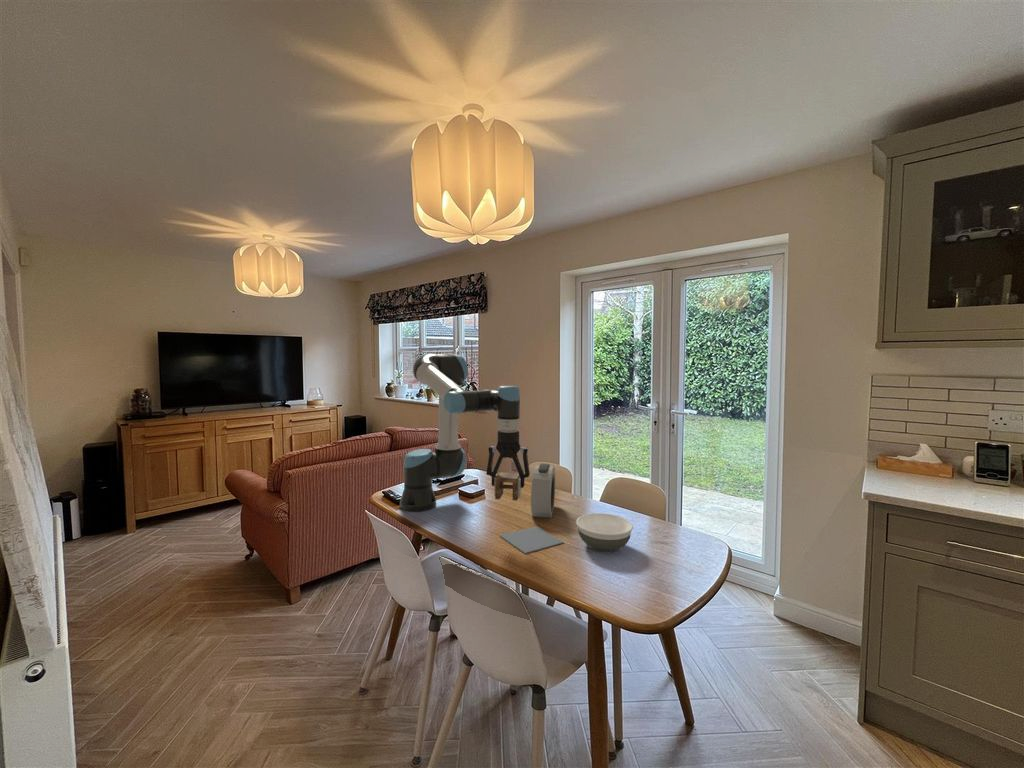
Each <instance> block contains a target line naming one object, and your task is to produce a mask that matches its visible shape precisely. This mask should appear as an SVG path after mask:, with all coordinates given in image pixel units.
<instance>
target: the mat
mask: <svg viewBox="0 0 1024 768" xmlns="http://www.w3.org/2000/svg"><path fill="white" fill-rule="evenodd" d="M499 537H500V538H502V539H503V540H504V541H505V542H507V543H508V544H510V545H512V546H513V547H514V548H515V549H516V550H518V551H519V552H521V553H523V554H524V555H526V554H531V553H534V552H537V551H541V550H544V549H548V548H552V547H555V546H559V545H562V544H564V541H563V540H561V539H560V538H558V537H556V536H554V535H552V534H550V533H549V532H547V531H546V530H544V529H542V528H541V527H539V526H532V527H528V528H525V529H520V530H516V531H512V532H508V533H503V534H501V535H499Z"/></svg>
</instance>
